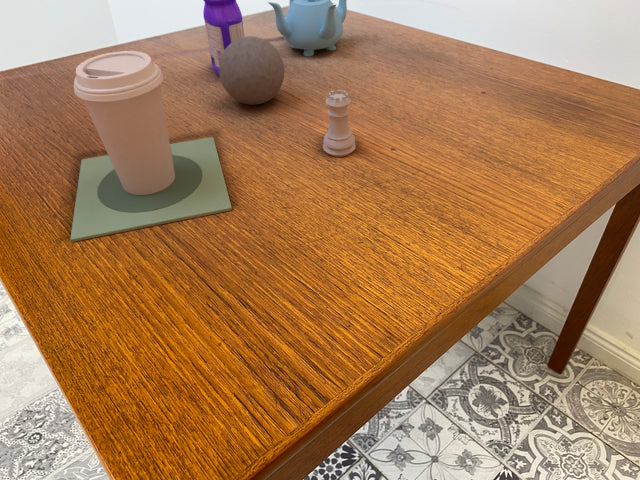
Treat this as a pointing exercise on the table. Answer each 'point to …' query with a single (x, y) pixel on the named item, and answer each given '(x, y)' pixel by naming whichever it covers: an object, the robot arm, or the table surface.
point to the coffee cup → (129, 117)
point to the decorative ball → (251, 70)
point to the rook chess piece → (338, 126)
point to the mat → (154, 209)
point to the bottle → (222, 27)
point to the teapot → (311, 24)
